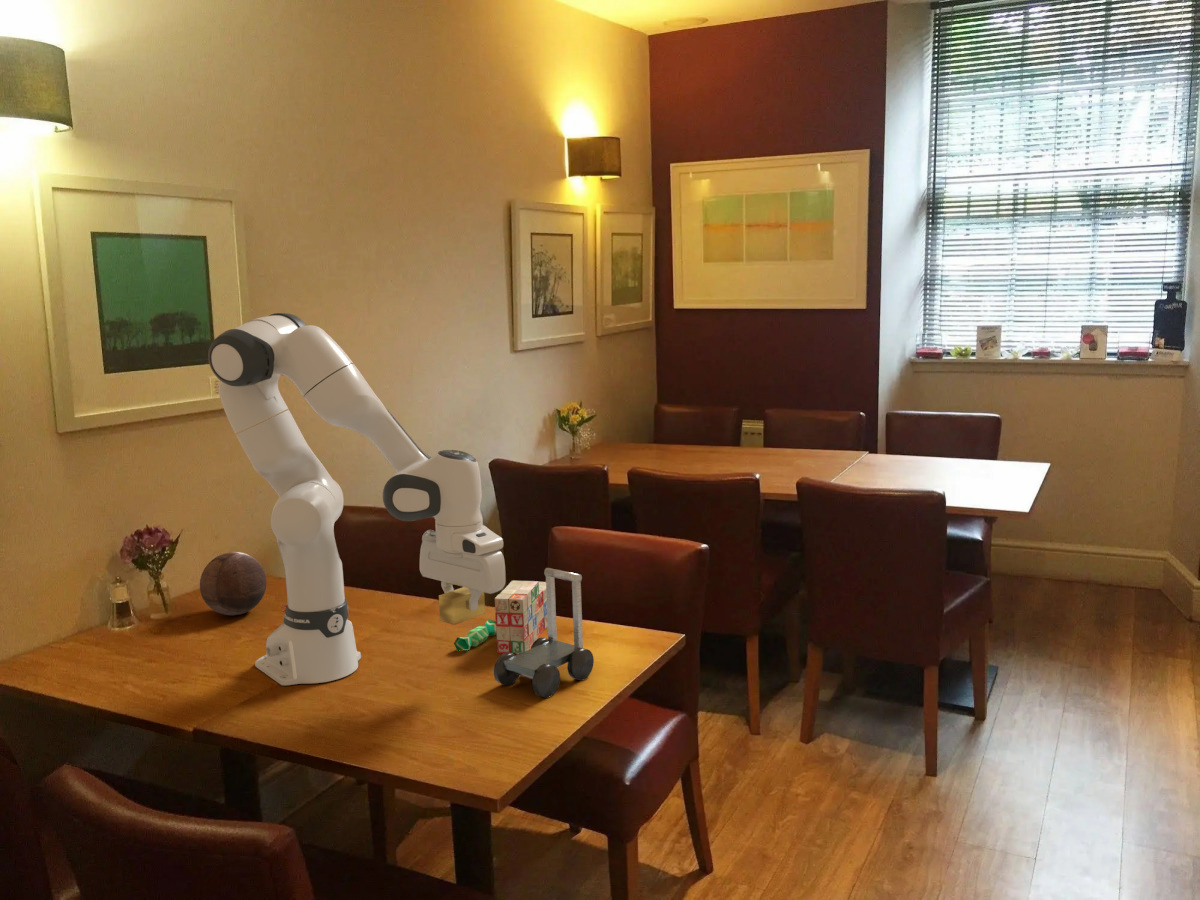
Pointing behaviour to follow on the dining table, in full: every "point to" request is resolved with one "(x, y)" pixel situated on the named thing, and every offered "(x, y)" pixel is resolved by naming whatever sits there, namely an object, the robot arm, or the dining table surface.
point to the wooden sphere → (233, 583)
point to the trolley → (550, 647)
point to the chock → (459, 606)
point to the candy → (476, 636)
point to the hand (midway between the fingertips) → (462, 606)
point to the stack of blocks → (520, 615)
